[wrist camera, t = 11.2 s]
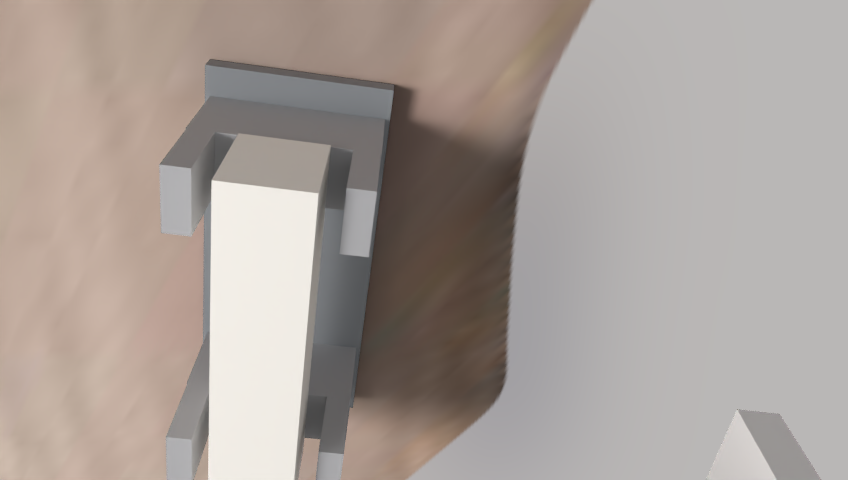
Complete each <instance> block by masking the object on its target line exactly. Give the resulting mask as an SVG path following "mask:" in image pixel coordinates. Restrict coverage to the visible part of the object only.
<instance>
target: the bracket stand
mask: <svg viewBox="0 0 848 480" xmlns="http://www.w3.org/2000/svg"><path fill="white" fill-rule="evenodd" d="M393 93H394V84H387V83H379V82H372V81H365V80H357V79H350V78H343V77H336V76H328V75H321V74H314V73H306V72H299V71H292V70H285V69H277V68H270V67H263V66H255V65H248V64H241V63H234V62H226V61H219V60H212V59H210V60H209V61H208V62H207V63H206V65H205V103H204V105H203V106H202V107H201V109H200V110H199V111H198V113H197V114H196V115H195V117H194V118H193V119H192V121H191V122H190V123H189V125H188V126H187V127H186V130H185V131H184V133H183V134H182V135H181V137H180V138H179V139H178V141H177V142H176V143H175V145H174V146H173V147H172V149H171V150H170V151H169V153H168V154H167V155H166V157H165V158H164V159H163V161H162V162H161V163H160V164H159V165H160V208H161V233H166V234H175V235H183V236H192V234H193V232H194V231H195V229H196V227H197V225H198V223H199V221H200V220H201V218H202V216H203V214H204V296H203V344H202V347H201V349H200V352H199V354H198V357H197V359H196V362H195V364H194V367H193V369H192V371H191V374H190V376H189V379H188V381H187V386H186V389H185V391H184V394H183V396H182V399H181V401H180V403H179V406H178V408H177V411H176V413H175V416H174V418H173V421H172V423H171V426H170V428H169V431H168V433H167V436H166V464H167V480H194V477H195V474H196V471H197V468H198V465H199V462H200V459H201V456H202V453H203V450H204V447H205V444H206V441H207V438H208V435H209V366H210V275H211V183H212V179H213V177H214V175H215V173H216V172H217V170H218V168H219V166H220V165H221V163H222V161H223V159H224V158H225V156H226V154H227V152H228V151H229V149H230V147H231V145H232V144H233V142H234V140H235V138H236V137H237V135H238V133H241V134H248V135H256V136H264V137H272V138H279V139H287V140H295V141H303V142H311V143H318V144H326V145H331V150H330V161H329V172H328V183H327V194H326V205H325V216H324V227H323V238H322V249H321V260H320V271H319V282H318V293H317V304H316V315H315V326H314V337H313V348H312V359H311V370H310V381H309V392H308V403H307V414H306V425H305V436H304V438H314V439H321V440H320V446H319V454H318V463H317V473H316V480H340V479H341V471H342V464H343V456H344V447H345V440H346V432H347V424H348V416H349V408H350V407H351V408H353V402H354V394H355V386H356V379H357V371H358V363H359V356H360V348H361V340H362V332H363V325H364V317H365V309H366V301H367V294H368V286H369V278H370V271H371V263H372V255H373V247H374V240H375V232H376V224H377V217H378V209H379V201H380V193H381V186H382V178H383V170H384V162H385V155H386V147H387V139H388V132H389V124H390V116H391V108H392V101H393Z"/></svg>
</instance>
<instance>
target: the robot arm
mask: <svg viewBox="0 0 848 480" xmlns="http://www.w3.org/2000/svg"><path fill="white" fill-rule="evenodd" d="M706 480H821V479H820V477H819V476H818V474H817V472H816V471H815V469H814V468H813V466H812V465H811V463H810V461H809V460H808V458H807V457H806V455H805V454H804V452H803V450H802V449H801V447H800V445H799V444H798V442H797V441H796V439H795V438H794V436H793V434H792V433H791V431H790V430H789V428H788V427H787V425H786V423H785V422H784V420H783V419H782V417H781V416H780V414H775V413H766V412H756V411H747V410H738V409H737V411H736V413H735V415H734V418H733V420H732V422H731V424H730V427H729V429H728V431H727V433H726V436H725V438H724V440H723V442H722V445H721V447H720V449H719V451H718V454H717V456H716V458H715V461H714V463H713V465H712V467H711V469H710V472H709V474H708V476H707V478H706Z"/></svg>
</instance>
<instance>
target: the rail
mask: <svg viewBox="0 0 848 480" xmlns="http://www.w3.org/2000/svg"><path fill="white" fill-rule="evenodd" d="M330 150H331V145H326V144H318V143H311V142H303V141H295V140H287V139H279V138H272V137H264V136H256V135H248V134H241V133H238V135H237V137H236V138H235V140H234V142H233V144H232V145H231V147H230V149H229V151H228V152H227V154H226V156H225V158H224V159H223V161H222V163H221V165H220V166H219V168H218V170H217V172H216V173H215V175H214V177H213V179H212V183H211V275H210V366H209V458H208V480H298V477H299V471H300V466H301V460H302V454H303V447H304V436H305V425H306V414H307V403H308V392H309V381H310V370H311V359H312V348H313V337H314V326H315V315H316V304H317V293H318V282H319V271H320V260H321V249H322V238H323V227H324V216H325V205H326V194H327V183H328V172H329V161H330Z"/></svg>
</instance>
